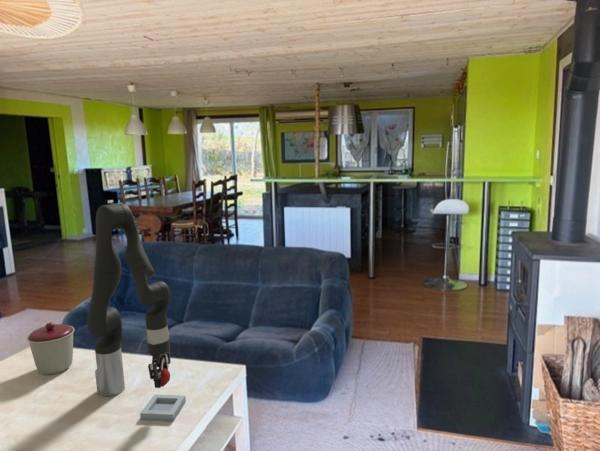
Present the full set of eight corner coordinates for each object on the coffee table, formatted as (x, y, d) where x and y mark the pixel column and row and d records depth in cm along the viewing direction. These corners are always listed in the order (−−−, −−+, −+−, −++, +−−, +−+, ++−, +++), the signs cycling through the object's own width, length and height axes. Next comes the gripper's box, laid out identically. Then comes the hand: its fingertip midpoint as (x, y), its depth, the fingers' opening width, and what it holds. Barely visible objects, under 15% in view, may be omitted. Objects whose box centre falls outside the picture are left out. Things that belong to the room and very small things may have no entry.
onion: (166, 391, 159) (164, 370, 157) (151, 390, 160) (149, 369, 159) (173, 383, 164) (172, 362, 163) (159, 381, 166) (157, 361, 164)
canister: (33, 364, 201) (27, 319, 197) (78, 355, 208) (73, 312, 204) (29, 383, 185) (22, 334, 181) (78, 373, 192) (72, 326, 188)
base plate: (140, 419, 159) (140, 413, 158) (154, 400, 170) (154, 394, 170) (173, 421, 157) (173, 414, 157) (185, 401, 169) (185, 395, 169)
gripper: (156, 330, 166) (159, 372, 169) (138, 347, 152) (143, 393, 155) (175, 330, 166) (179, 372, 169) (160, 347, 151) (164, 393, 154)
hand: (161, 382), depth 162 cm, fingers closed on onion, 6 cm apart
